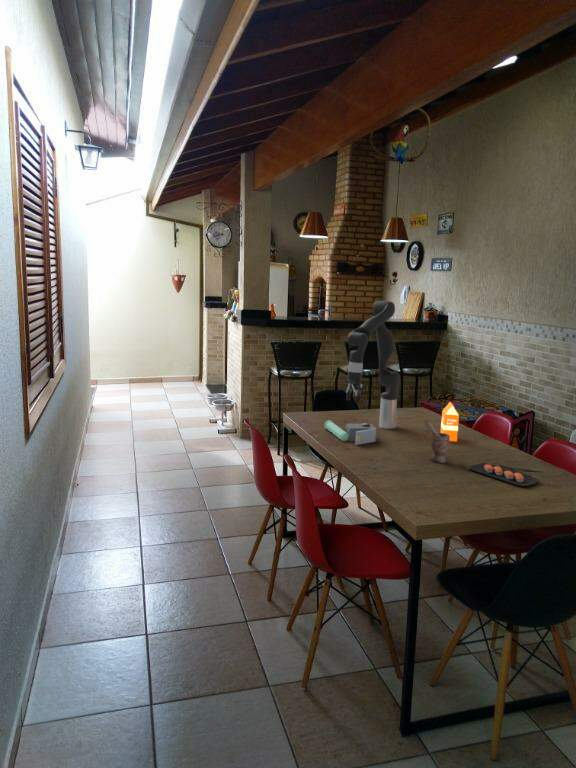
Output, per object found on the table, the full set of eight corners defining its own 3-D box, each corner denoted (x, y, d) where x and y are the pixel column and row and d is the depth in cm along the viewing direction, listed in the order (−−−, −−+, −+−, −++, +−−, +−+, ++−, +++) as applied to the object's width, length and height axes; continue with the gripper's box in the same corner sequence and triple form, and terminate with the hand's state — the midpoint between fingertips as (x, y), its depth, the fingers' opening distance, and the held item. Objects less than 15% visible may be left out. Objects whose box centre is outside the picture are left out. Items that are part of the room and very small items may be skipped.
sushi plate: (465, 471, 264) (466, 463, 263) (502, 460, 282) (503, 453, 281) (524, 490, 241) (525, 482, 240) (560, 478, 259) (561, 469, 258)
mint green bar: (348, 430, 302) (332, 418, 325) (338, 435, 301) (322, 422, 324) (352, 440, 304) (335, 427, 327) (342, 444, 303) (325, 431, 326)
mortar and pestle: (426, 463, 271) (429, 422, 267) (420, 457, 279) (423, 418, 276) (449, 463, 272) (453, 422, 268) (443, 458, 280) (447, 418, 277)
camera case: (370, 436, 315) (371, 422, 314) (374, 441, 305) (375, 426, 304) (345, 435, 314) (346, 421, 312) (349, 441, 304) (350, 426, 302)
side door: (374, 440, 305) (375, 427, 304) (377, 441, 304) (378, 428, 302) (354, 444, 297) (355, 431, 295) (357, 445, 295) (358, 432, 294)
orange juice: (453, 437, 320) (457, 402, 316) (456, 441, 311) (460, 405, 308) (439, 436, 321) (442, 401, 317) (442, 440, 312) (445, 404, 308)
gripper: (368, 372, 293) (366, 404, 295) (353, 369, 305) (351, 399, 308) (356, 372, 289) (353, 404, 292) (341, 369, 302) (339, 399, 304)
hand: (352, 401), depth 300 cm, fingers open, 8 cm apart
